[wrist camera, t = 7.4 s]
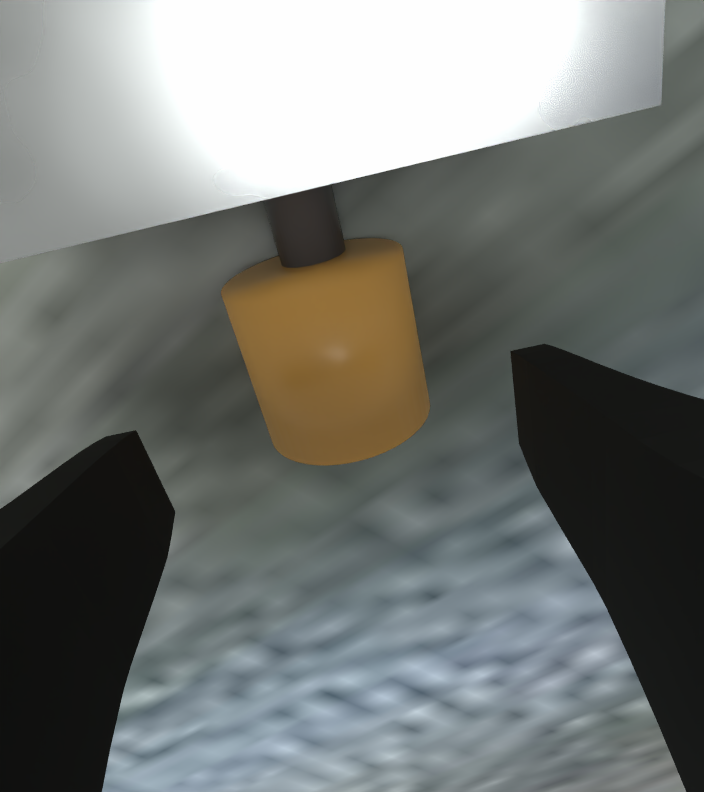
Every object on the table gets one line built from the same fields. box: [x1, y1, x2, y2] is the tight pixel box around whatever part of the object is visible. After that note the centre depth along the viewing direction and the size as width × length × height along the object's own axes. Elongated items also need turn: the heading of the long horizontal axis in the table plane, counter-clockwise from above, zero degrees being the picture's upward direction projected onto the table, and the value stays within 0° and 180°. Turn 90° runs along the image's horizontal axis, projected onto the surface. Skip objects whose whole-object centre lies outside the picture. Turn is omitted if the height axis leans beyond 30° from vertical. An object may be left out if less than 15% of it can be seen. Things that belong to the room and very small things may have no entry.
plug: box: [221, 184, 430, 465], centre depth 11 cm, size 16×4×4 cm, turn 13°
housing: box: [0, 0, 665, 263], centre depth 10 cm, size 4×16×6 cm, turn 103°
